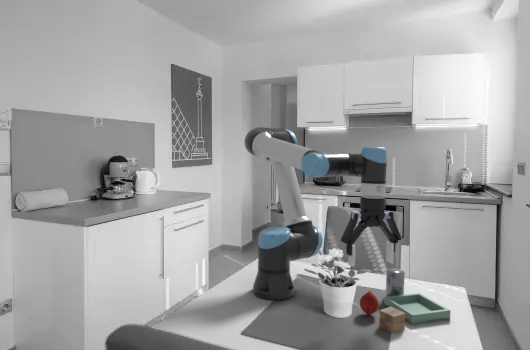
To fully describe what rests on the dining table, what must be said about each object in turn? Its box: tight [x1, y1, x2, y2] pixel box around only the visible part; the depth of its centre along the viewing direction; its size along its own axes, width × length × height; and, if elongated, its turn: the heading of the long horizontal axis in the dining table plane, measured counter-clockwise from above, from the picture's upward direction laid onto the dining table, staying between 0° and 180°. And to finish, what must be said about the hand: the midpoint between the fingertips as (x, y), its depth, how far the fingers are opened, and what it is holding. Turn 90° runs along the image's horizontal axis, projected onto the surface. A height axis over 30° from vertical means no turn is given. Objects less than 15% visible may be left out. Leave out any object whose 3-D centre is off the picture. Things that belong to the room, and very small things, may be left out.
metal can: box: [385, 268, 406, 297], centre depth 125 cm, size 6×6×10 cm
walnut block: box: [378, 307, 406, 334], centre depth 104 cm, size 5×5×5 cm
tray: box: [383, 292, 451, 326], centre depth 114 cm, size 14×14×3 cm
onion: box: [359, 289, 380, 316], centre depth 112 cm, size 6×6×8 cm
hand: (370, 263), depth 111 cm, fingers open, 13 cm apart
